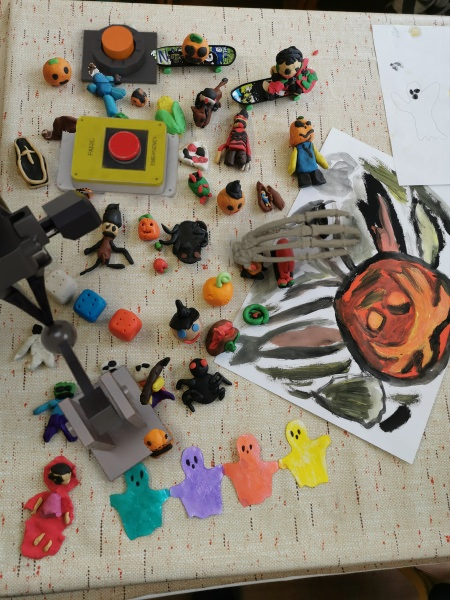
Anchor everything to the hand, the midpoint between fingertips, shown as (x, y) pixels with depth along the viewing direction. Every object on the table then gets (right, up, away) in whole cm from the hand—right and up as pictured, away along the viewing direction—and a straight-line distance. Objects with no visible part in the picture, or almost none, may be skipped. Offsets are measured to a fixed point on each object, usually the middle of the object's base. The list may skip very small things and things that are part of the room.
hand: (50, 323), depth 56 cm
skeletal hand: (+27, +9, +15) cm, 32 cm away
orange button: (+3, +36, +18) cm, 41 cm away
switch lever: (+4, -6, -2) cm, 7 cm away
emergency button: (+4, +20, +16) cm, 26 cm away
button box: (+3, +35, +20) cm, 41 cm away
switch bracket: (+6, -11, +7) cm, 14 cm away
